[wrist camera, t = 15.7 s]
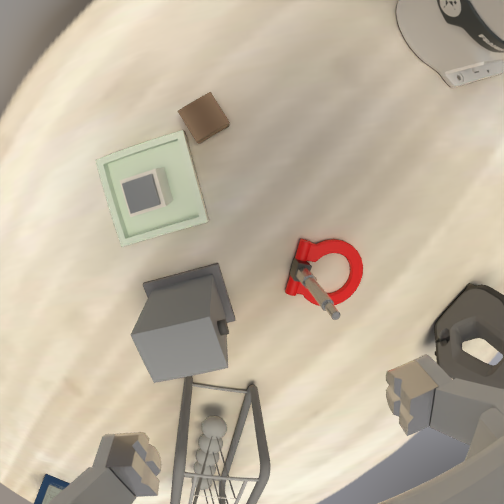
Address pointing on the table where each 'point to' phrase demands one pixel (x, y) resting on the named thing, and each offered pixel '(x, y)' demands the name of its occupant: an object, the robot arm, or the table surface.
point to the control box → (184, 324)
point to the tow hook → (306, 281)
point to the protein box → (49, 489)
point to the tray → (180, 182)
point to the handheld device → (472, 335)
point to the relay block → (146, 191)
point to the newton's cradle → (217, 449)
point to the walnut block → (204, 117)
